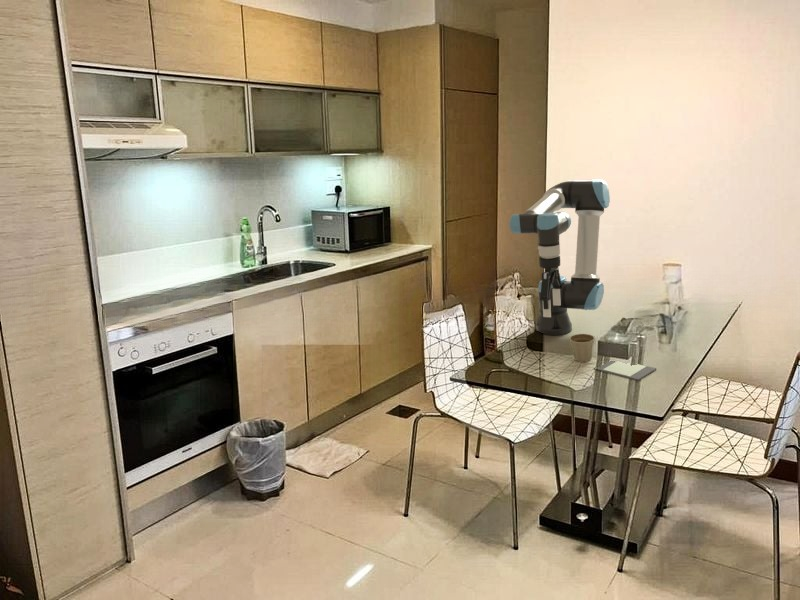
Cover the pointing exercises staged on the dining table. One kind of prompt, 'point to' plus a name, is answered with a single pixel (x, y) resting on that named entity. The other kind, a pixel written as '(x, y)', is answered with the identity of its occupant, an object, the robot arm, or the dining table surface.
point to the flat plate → (627, 370)
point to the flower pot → (582, 346)
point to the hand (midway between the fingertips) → (552, 311)
